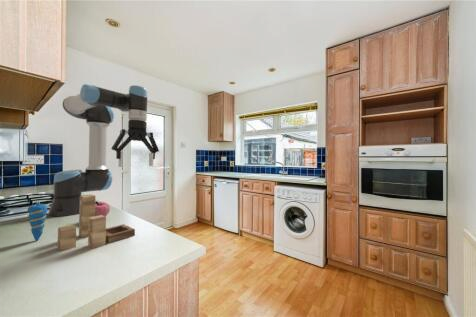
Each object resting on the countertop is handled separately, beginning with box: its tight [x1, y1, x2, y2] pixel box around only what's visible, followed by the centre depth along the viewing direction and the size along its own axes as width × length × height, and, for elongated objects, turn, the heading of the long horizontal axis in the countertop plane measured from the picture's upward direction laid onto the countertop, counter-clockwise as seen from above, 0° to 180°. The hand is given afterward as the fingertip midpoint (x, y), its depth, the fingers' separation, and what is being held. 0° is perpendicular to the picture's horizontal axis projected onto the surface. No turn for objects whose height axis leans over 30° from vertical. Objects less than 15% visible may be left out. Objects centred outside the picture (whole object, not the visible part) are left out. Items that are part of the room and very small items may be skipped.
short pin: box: [57, 224, 77, 252], centre depth 69 cm, size 4×4×7 cm
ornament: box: [27, 200, 48, 242], centre depth 74 cm, size 5×5×15 cm
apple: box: [95, 200, 110, 218], centre depth 98 cm, size 10×9×10 cm
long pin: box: [78, 194, 96, 239], centre depth 80 cm, size 4×4×16 cm
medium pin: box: [87, 215, 107, 250], centre depth 72 cm, size 4×4×10 cm
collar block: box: [105, 223, 136, 244], centre depth 80 cm, size 10×10×2 cm
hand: (136, 166), depth 92 cm, fingers open, 13 cm apart
